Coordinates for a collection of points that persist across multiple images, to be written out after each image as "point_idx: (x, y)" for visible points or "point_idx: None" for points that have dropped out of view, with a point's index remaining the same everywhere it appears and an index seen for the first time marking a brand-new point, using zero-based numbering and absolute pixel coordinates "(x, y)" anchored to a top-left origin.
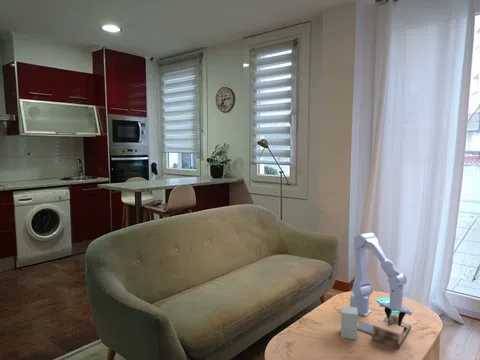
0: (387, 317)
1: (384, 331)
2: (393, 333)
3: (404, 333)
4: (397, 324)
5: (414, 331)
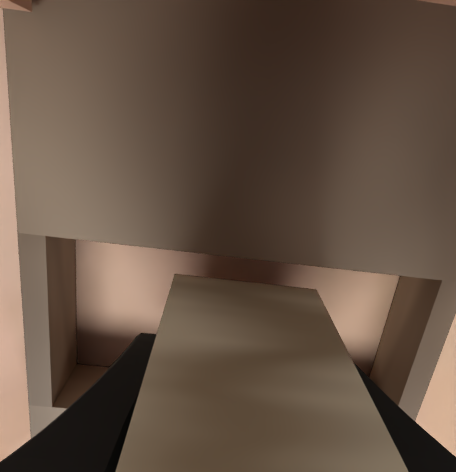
0: (433, 442)
1: (392, 60)
2: (216, 86)
3: (39, 205)
4: (166, 332)
5: (4, 410)
